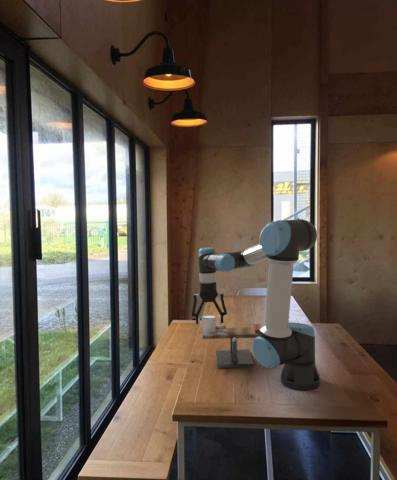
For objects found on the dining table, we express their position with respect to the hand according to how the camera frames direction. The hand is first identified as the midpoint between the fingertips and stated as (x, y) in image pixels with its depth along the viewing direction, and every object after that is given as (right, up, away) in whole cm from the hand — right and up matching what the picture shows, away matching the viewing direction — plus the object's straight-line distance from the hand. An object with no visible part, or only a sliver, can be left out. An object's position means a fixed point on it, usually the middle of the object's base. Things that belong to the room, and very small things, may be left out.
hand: (210, 330), depth 180 cm
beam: (+11, -3, 0) cm, 11 cm away
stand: (+11, -14, +1) cm, 18 cm away
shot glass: (0, -1, 0) cm, 1 cm away
